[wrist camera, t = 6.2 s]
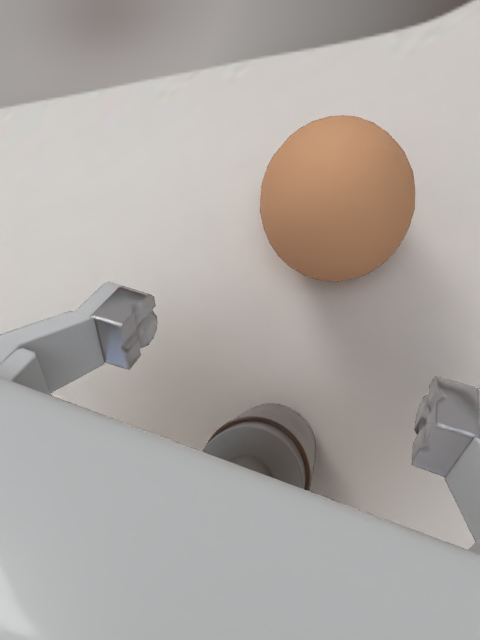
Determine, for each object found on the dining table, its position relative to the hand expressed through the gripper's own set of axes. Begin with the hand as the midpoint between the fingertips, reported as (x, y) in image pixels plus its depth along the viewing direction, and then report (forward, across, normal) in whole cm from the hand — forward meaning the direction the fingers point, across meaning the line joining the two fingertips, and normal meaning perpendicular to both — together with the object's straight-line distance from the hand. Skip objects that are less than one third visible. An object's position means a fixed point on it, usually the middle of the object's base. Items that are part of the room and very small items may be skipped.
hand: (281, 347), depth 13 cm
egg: (+13, 0, +4) cm, 13 cm away
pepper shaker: (+4, 0, +12) cm, 12 cm away
